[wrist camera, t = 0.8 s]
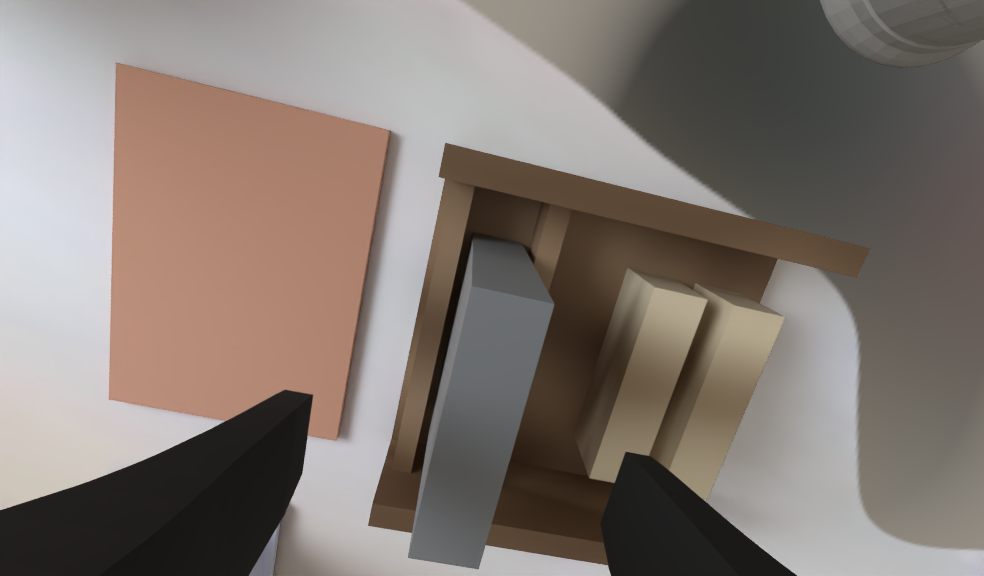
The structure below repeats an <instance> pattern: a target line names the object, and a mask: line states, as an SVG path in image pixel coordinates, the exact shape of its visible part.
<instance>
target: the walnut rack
mask: <svg viewBox="0 0 984 576" xmlns="http://www.w3.org/2000/svg"><path fill="white" fill-rule="evenodd" d="M439 177H441V178H445V182H444V187H443V192H442V197H441V201H440V206H439V211H438V216H437V221H436V226H435V231H434V235H433V240H432V245H431V250H430V255H429V260H428V265H427V269H426V274H425V279H424V284H423V289H422V294H421V299H420V303H419V308H418V313H417V318H416V323H415V328H414V333H413V337H412V342H411V347H410V352H409V357H408V362H407V366H406V371H405V376H404V381H403V386H402V391H401V396H400V400H399V405H398V410H397V415H396V420H395V425H394V430H393V434H392V439H391V443H390V446H389V450H388V453H387V456H386V460H385V463H384V467H383V470H382V473H381V477H380V480H379V484H378V487H377V490H376V494H375V497H374V500H373V504H372V509H371V514H370V519H369V524H368V526H373V527H379V528H385V529H391V530H398V531H404V532H410V533H412V531H413V525H414V519H415V513H416V507H417V501H418V495H419V489H420V483H421V477H422V471H423V465H424V459H425V453H426V447H427V441H428V435H429V429H430V423H431V417H432V411H433V405H434V401H435V397H436V392H437V388H438V384H439V379H440V375H441V370H442V366H443V362H444V357H445V353H446V349H447V344H448V340H449V335H450V331H451V327H452V322H453V318H454V313H455V309H456V305H457V300H458V296H459V292H460V287H461V283H462V278H463V274H464V270H465V265H466V261H467V257H468V252H469V248H470V243H471V239H472V235H473V232H476V233H481V234H485V235H489V236H494V237H498V238H502V239H507V240H511V241H515V242H520V243H522V244H523V246H524V248H525V250H526V252H527V254H528V256H529V257H530V259H531V261H532V263H533V265H534V267H535V269H536V270H537V272H538V274H539V276H540V278H541V280H542V282H543V284H544V285H545V287H546V289H547V291H548V293H549V295H550V297H551V298H552V300H553V302H554V308H553V311H552V315H551V318H550V322H549V325H548V329H547V332H546V336H545V339H544V343H543V346H542V350H541V353H540V357H539V360H538V364H537V367H536V371H535V374H534V377H533V381H532V384H531V388H530V391H529V395H528V398H527V402H526V405H525V409H524V412H523V416H522V419H521V423H520V426H519V430H518V433H517V437H516V440H515V444H514V447H513V451H512V454H511V458H510V461H509V465H508V468H507V472H506V475H505V479H504V482H503V486H502V489H501V492H500V496H499V499H498V503H497V506H496V510H495V513H494V517H493V520H492V524H491V527H490V531H489V534H488V538H487V541H486V545H489V546H495V547H501V548H507V549H513V550H519V551H525V552H531V553H537V554H543V555H549V556H555V557H561V558H567V559H573V560H579V561H586V562H592V563H598V564H604V565H608V561H607V556H606V552H605V546H604V541H603V535H602V529H601V520H602V517H603V515H604V512H605V509H606V506H607V503H608V500H609V497H610V495H611V492H612V489H613V486H614V483H613V482H607V481H602V480H596V479H591V478H589V476H588V473H587V471H586V468H585V465H584V462H583V459H582V457H581V454H580V451H579V448H578V445H577V442H576V440H575V437H574V432H575V428H576V425H577V422H578V419H579V416H580V413H581V410H582V407H583V404H584V401H585V398H586V394H587V391H588V388H589V385H590V382H591V379H592V376H593V373H594V370H595V367H596V364H597V360H598V357H599V354H600V351H601V348H602V345H603V342H604V339H605V336H606V333H607V330H608V326H609V323H610V320H611V317H612V314H613V311H614V308H615V305H616V302H617V299H618V296H619V292H620V289H621V286H622V283H623V280H624V277H625V274H626V271H627V268H632V269H636V270H641V271H645V272H649V273H654V274H658V275H662V276H667V277H671V278H674V279H676V280H677V281H679V282H680V283H682V284H684V285H685V286H687V287H689V288H690V289H692V290H693V289H694V286H695V283H697V284H701V285H706V286H710V287H714V288H719V289H723V290H727V291H732V292H736V293H740V294H742V295H744V296H746V297H748V298H750V299H752V300H753V301H755V302H757V303H760V301H761V298H762V296H763V293H764V291H765V288H766V286H767V283H768V281H769V279H770V276H771V274H772V271H773V269H774V266H775V264H776V262H777V259H782V260H786V261H790V262H794V263H798V264H802V265H807V266H811V267H815V268H819V269H823V270H827V271H832V272H836V273H840V274H844V275H849V276H852V277H857V275H858V273H859V271H860V269H861V267H862V265H863V262H864V260H865V258H866V256H867V254H868V252H869V248H866V247H862V246H858V245H854V244H850V243H846V242H842V241H838V240H834V239H830V238H826V237H822V236H818V235H814V234H810V233H806V232H801V231H798V230H793V229H790V228H786V227H781V226H778V225H773V224H770V223H766V222H762V221H757V220H754V219H750V218H745V217H741V216H737V215H733V214H729V213H725V212H721V211H717V210H713V209H709V208H705V207H701V206H697V205H693V204H689V203H685V202H681V201H677V200H673V199H669V198H665V197H661V196H657V195H653V194H649V193H645V192H641V191H637V190H633V189H629V188H625V187H621V186H617V185H613V184H609V183H605V182H601V181H596V180H592V179H588V178H584V177H580V176H576V175H572V174H568V173H564V172H560V171H556V170H552V169H548V168H544V167H540V166H536V165H532V164H528V163H524V162H520V161H516V160H512V159H508V158H504V157H500V156H496V155H492V154H488V153H484V152H480V151H476V150H472V149H468V148H464V147H460V146H456V145H451V144H447V143H445V148H444V153H443V158H442V163H441V168H440V173H439Z"/></svg>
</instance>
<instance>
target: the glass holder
mask: <svg viewBox="0 0 984 576" xmlns="http://www.w3.org/2000/svg"><path fill="white" fill-rule="evenodd" d="M820 2H821V4H822V7H823V10H824V12H825V15H826V18H827V19H828V21H829V23H830V24H831V26H832V28H833V29H834V31H835V32H836V34H837V35H838V36H839V37H840V38H841V40H843V42H844V43H845V44H846V45H847V46H848V47H849V48H850V49H852V50H853V51H855V52H856V53H858V54H859V55H861V56H863V57H864V58H866V59H868V60H870V61H873V62H876V63H878V64H881V65H887V66H892V67H899V68H902V67H919V66H924V65H928V64H933V63H937V62H940V61H943V60H945V59H947V58H950V57H952V56H955V55H957V54H960V53H961V52H963V51H965V50H966V49H968V48H970V47H971V46H973V45H974V44H976V43H978V42H979V41H981V40H983V39H984V0H820Z"/></svg>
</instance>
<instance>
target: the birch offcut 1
mask: <svg viewBox="0 0 984 576" xmlns="http://www.w3.org/2000/svg"><path fill="white" fill-rule="evenodd" d="M707 301H708V299H706V298H705V297H703V296H702V295H700V294H698V293H697V292H695V291H693V290H692V289H690V288H689V287H687V286H685V285H684V284H682V283H680V282H679V281H677V280H676V279H674V278H671V277H667V276H662V275H658V274H654V273H649V272H645V271H641V270H636V269H632V268H627V271H626V274H625V277H624V280H623V283H622V286H621V289H620V292H619V296H618V299H617V302H616V305H615V308H614V311H613V314H612V317H611V320H610V323H609V326H608V330H607V333H606V336H605V339H604V342H603V345H602V348H601V351H600V354H599V357H598V360H597V364H596V367H595V370H594V373H593V376H592V379H591V382H590V385H589V388H588V391H587V394H586V398H585V401H584V404H583V407H582V410H581V413H580V416H579V419H578V422H577V425H576V428H575V432H574V437H575V440H576V442H577V445H578V448H579V451H580V454H581V457H582V459H583V462H584V465H585V468H586V471H587V473H588V476H589V478H591V479H596V480H602V481H607V482H613V483H615V480H616V478H617V475H618V472H619V469H620V466H621V463H622V460H623V458H624V455H625V452H630V453H636V454H641V455H647V456H649V454H650V451H651V449H652V446H653V444H654V441H655V438H656V436H657V433H658V430H659V428H660V425H661V422H662V420H663V417H664V414H665V412H666V409H667V406H668V404H669V401H670V399H671V396H672V393H673V391H674V388H675V385H676V383H677V380H678V377H679V375H680V372H681V369H682V367H683V364H684V361H685V359H686V356H687V353H688V351H689V348H690V346H691V343H692V340H693V338H694V335H695V332H696V330H697V327H698V324H699V322H700V319H701V316H702V314H703V311H704V308H705V306H706V303H707Z"/></svg>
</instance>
